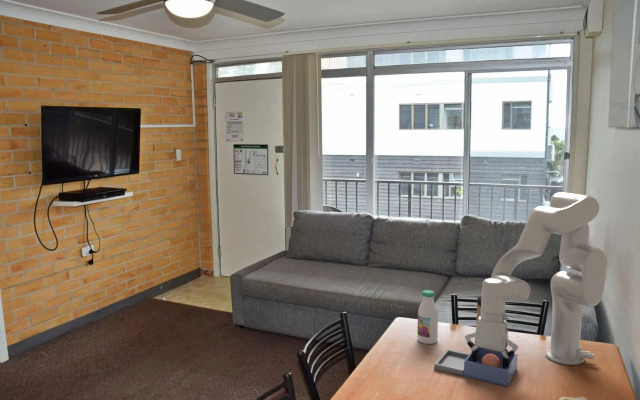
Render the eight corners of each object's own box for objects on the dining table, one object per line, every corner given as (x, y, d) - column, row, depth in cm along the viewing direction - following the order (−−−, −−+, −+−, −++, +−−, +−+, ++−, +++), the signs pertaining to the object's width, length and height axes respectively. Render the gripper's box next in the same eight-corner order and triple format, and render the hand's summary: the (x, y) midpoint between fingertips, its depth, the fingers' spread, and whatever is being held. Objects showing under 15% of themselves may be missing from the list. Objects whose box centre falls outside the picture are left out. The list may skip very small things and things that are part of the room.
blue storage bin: (516, 369, 177) (517, 354, 177) (507, 387, 165) (508, 370, 165) (475, 360, 185) (475, 345, 184) (463, 376, 173) (464, 360, 172)
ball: (501, 369, 176) (502, 353, 175) (497, 377, 171) (498, 359, 170) (483, 365, 179) (484, 349, 178) (479, 372, 174) (479, 355, 173)
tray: (474, 360, 185) (474, 355, 185) (462, 376, 173) (463, 370, 173) (446, 354, 190) (447, 349, 190) (434, 369, 178) (434, 363, 178)
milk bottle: (430, 335, 208) (431, 287, 205) (441, 343, 200) (442, 293, 198) (413, 338, 205) (414, 289, 203) (423, 345, 198) (424, 295, 195)
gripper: (521, 317, 171) (518, 366, 173) (469, 307, 180) (467, 354, 182) (517, 324, 164) (514, 375, 166) (463, 314, 173) (460, 362, 175)
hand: (489, 364), depth 174 cm, fingers open, 9 cm apart
